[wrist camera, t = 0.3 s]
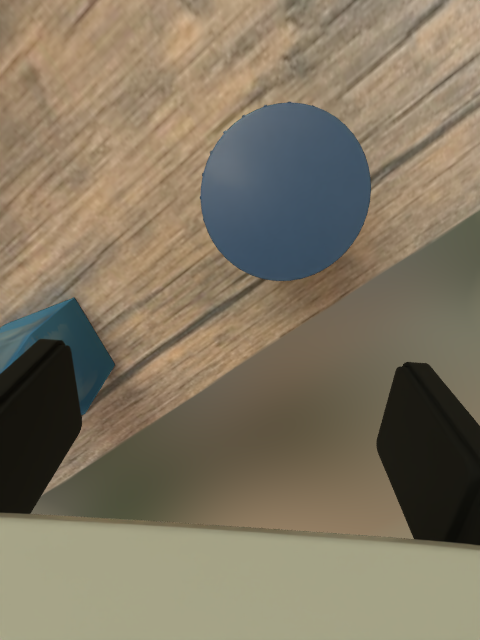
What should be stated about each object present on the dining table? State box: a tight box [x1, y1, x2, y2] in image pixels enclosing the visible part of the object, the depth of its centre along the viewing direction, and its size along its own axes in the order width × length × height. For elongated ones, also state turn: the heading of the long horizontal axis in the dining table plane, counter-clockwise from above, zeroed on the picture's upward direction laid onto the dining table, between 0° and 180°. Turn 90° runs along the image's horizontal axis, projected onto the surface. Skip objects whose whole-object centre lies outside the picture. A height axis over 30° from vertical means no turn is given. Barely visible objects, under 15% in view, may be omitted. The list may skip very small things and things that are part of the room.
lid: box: [200, 102, 371, 281], centre depth 16 cm, size 7×7×2 cm
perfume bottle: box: [0, 298, 115, 415], centre depth 24 cm, size 6×6×12 cm
